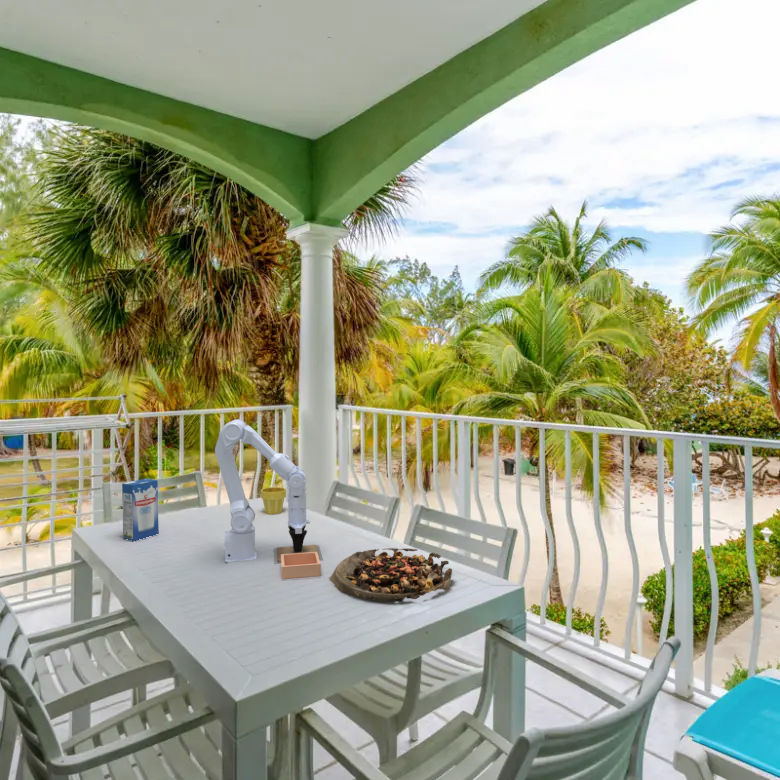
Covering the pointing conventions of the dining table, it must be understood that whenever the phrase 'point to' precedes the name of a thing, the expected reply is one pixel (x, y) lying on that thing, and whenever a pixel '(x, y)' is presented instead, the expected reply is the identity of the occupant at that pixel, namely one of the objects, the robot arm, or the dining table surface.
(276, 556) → the mat
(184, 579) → the dining table surface
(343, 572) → the food dish
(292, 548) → the lid
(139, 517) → the milk carton
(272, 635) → the dining table surface
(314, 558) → the pink shallow tray
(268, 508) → the plant pot
